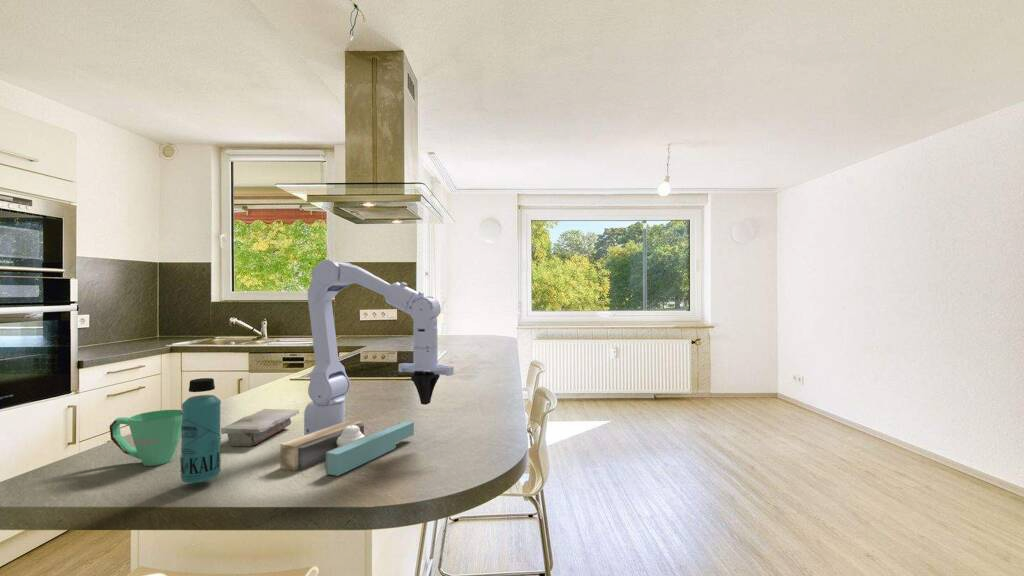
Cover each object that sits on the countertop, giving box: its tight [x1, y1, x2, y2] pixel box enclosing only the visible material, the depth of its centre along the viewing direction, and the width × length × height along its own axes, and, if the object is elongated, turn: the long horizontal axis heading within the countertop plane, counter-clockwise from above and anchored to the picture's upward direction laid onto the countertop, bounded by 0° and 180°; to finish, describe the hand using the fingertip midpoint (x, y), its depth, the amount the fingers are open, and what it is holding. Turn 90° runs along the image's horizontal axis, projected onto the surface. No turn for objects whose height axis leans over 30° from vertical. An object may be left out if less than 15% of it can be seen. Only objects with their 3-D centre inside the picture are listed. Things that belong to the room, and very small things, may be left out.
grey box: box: [220, 408, 300, 447], centre depth 121 cm, size 18×5×10 cm
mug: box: [109, 409, 182, 467], centre depth 103 cm, size 15×10×10 cm
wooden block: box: [279, 419, 365, 472], centre depth 107 cm, size 5×20×5 cm, turn 156°
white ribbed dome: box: [337, 425, 366, 447], centre depth 106 cm, size 6×6×7 cm
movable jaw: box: [325, 420, 415, 477], centre depth 106 cm, size 3×25×4 cm, turn 156°
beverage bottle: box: [179, 377, 222, 484], centre depth 91 cm, size 6×7×20 cm
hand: (425, 403), depth 115 cm, fingers closed
